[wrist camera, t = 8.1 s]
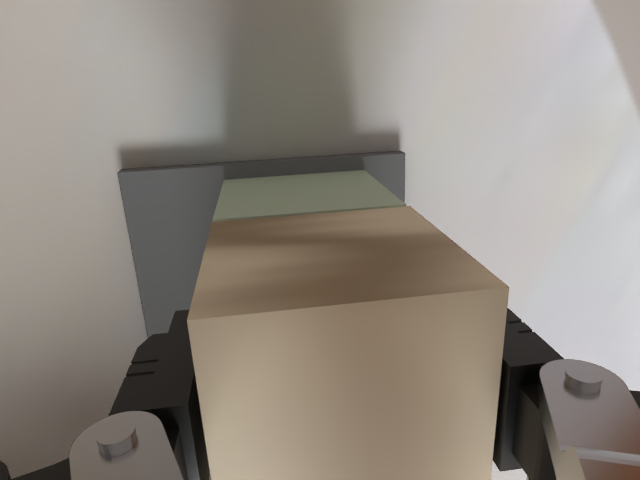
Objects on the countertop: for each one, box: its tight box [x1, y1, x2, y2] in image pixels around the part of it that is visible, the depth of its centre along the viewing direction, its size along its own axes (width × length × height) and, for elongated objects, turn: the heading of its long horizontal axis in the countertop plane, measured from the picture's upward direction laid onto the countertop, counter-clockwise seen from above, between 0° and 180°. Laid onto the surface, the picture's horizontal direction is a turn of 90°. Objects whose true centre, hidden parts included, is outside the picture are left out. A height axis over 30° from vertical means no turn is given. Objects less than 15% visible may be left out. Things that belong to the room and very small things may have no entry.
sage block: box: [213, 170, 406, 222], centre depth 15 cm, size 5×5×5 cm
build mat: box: [118, 151, 405, 338], centre depth 19 cm, size 10×12×1 cm
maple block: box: [187, 206, 509, 480], centre depth 10 cm, size 5×5×5 cm
